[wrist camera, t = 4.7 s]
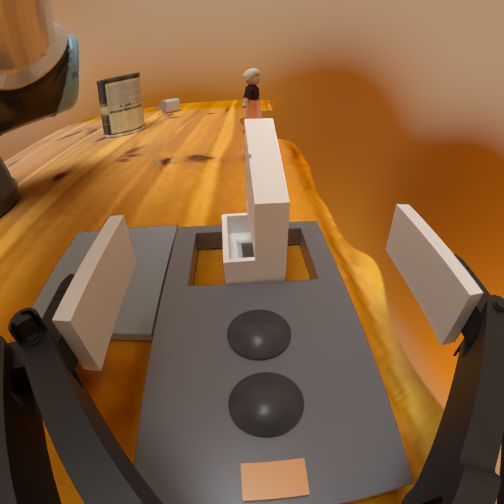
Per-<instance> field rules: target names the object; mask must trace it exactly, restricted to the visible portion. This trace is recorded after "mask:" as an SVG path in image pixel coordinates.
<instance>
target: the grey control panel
mask: <svg viewBox="0 0 504 504" xmlns="http://www.w3.org/2000/svg"><path fill="white" fill-rule="evenodd" d="M297 244H299V245H300V248H301V251H302V254H303V257H304V260H305V263H306V266H307V270H308V273H309V276H310V279H311V280H297V281H281V282H264V283H245V284H225V285H202V286H193V284H194V276H195V268H196V261H197V254H198V249H215V248H223V240H222V225H214V226H196V227H180V228H178V231H177V235H176V239H175V243H174V247H173V250H172V254H171V258H170V263H169V267H168V271H167V275H166V279H165V284H164V288H163V292H162V297H161V301H160V306H159V311H158V316H157V320H156V325H155V330H154V335H153V340H152V346H151V351H150V356H149V362H148V368H147V374H146V380H145V386H144V392H143V399H142V405H141V412H140V420H139V427H138V435H137V443H136V452H135V462H134V467H135V468H136V470H137V471H138V472H139V474H140V475H141V476H142V478H143V479H144V480H145V482H146V483H147V484H148V485H149V487H150V488H151V489H152V490H153V492H154V493H155V494H156V495H157V497H158V498H159V499H160V500H161V501H162V503H163V504H350V503H354V502H358V501H362V500H366V499H369V498H373V497H377V496H380V495H383V494H386V493H390V492H393V491H396V490H399V489H401V488H403V487H405V486H407V485H409V484H411V483H413V478H412V474H411V471H410V467H409V464H408V460H407V456H406V453H405V450H404V446H403V443H402V440H401V436H400V433H399V430H398V427H397V423H396V420H395V417H394V414H393V411H392V408H391V405H390V402H389V399H388V396H387V393H386V390H385V387H384V384H383V382H382V379H381V376H380V373H379V370H378V368H377V365H376V362H375V359H374V357H373V354H372V351H371V349H370V346H369V343H368V341H367V338H366V336H365V333H364V330H363V328H362V325H361V323H360V320H359V318H358V315H357V313H356V310H355V308H354V305H353V303H352V301H351V298H350V296H349V293H348V291H347V289H346V286H345V284H344V282H343V279H342V277H341V275H340V272H339V270H338V268H337V265H336V263H335V261H334V259H333V256H332V254H331V252H330V250H329V247H328V245H327V243H326V241H325V239H324V236H323V234H322V232H321V230H320V228H319V226H318V224H317V221H304V222H289V227H288V244H287V245H297Z"/></svg>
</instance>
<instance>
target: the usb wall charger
mask: <svg viewBox="0 0 504 504" xmlns="http://www.w3.org/2000/svg"><path fill="white" fill-rule="evenodd" d="M155 108H156V109H157V110H160V109H162V113H166V114H167V113H171V112H176V111H180V105H179V99H177V98H176V99H175V98H174V99H168V100H163V101H161V106H159V107H155Z"/></svg>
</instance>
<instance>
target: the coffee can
mask: <svg viewBox="0 0 504 504" xmlns="http://www.w3.org/2000/svg"><path fill="white" fill-rule="evenodd" d="M139 75H140V73H133V74H128V75H123V76H118V77H113V78H109V79H104V80H100V81H97V85H98V93H99V101H100V109H101V116H102V122H103V129H104V137H106V138H114V137H120V136H125V135H129V134H133V133H136V132H138V131H141V130H143V129H144V128H145V126H144V118H143V110H142V100H141V90H140V80H139Z"/></svg>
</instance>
